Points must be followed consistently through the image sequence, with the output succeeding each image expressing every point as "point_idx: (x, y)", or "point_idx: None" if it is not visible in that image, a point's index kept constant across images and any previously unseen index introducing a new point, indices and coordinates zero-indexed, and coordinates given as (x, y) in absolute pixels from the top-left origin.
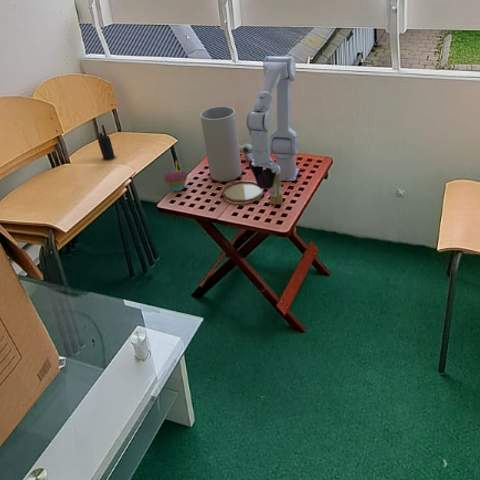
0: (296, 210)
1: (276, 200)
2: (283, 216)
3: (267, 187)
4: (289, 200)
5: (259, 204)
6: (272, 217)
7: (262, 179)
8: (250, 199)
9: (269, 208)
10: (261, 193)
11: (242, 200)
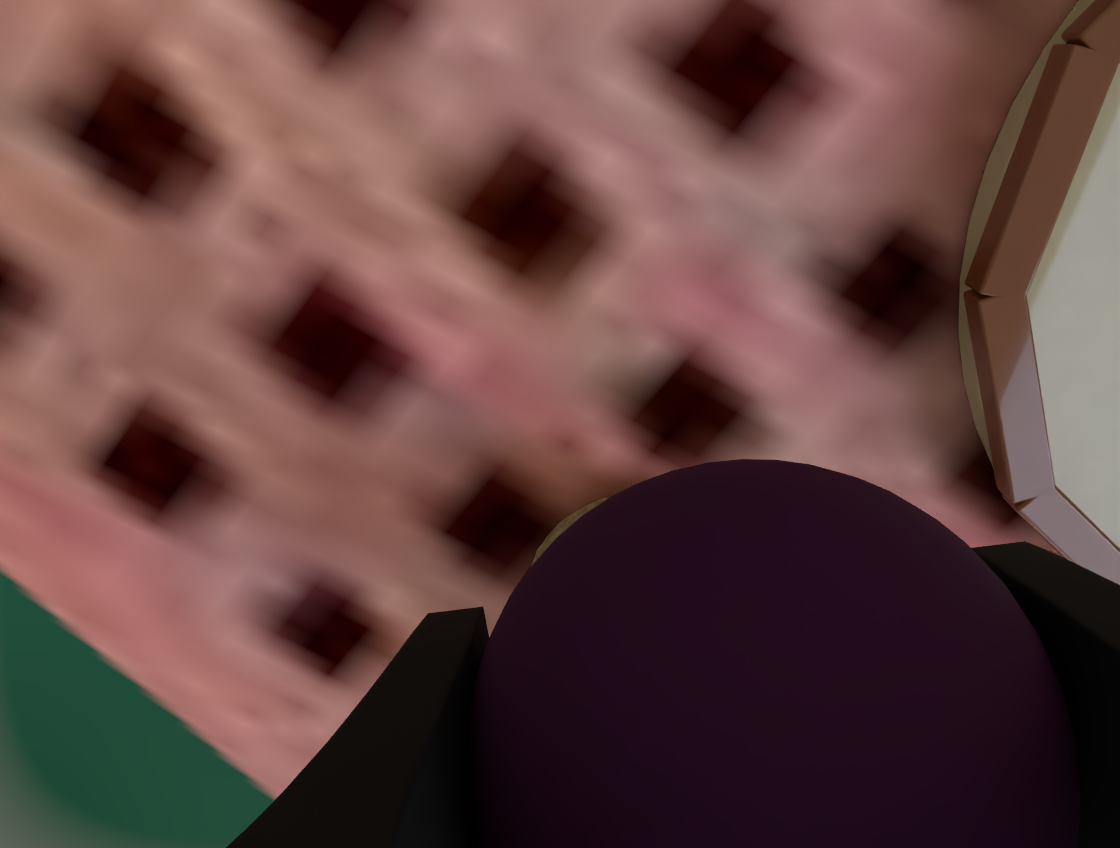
0: (199, 687)
1: None
2: (127, 439)
3: (416, 630)
4: None
5: (787, 308)
6: (197, 264)
7: (598, 744)
8: (1001, 216)
9: (530, 383)
10: (1018, 510)
11: (1096, 31)
